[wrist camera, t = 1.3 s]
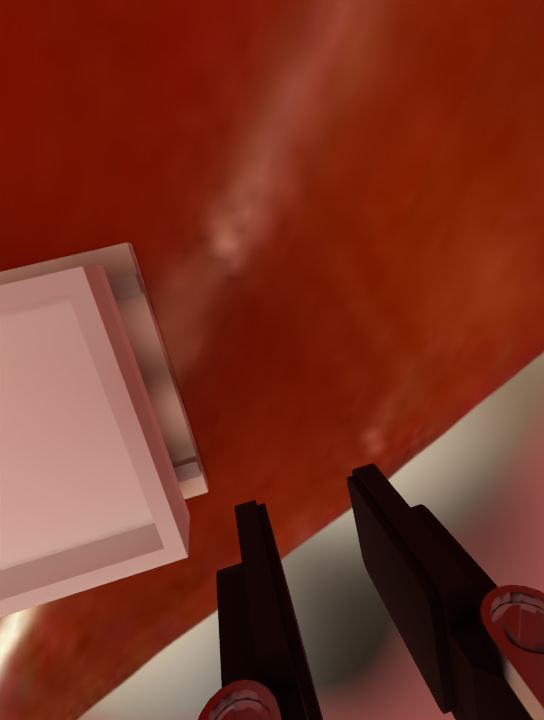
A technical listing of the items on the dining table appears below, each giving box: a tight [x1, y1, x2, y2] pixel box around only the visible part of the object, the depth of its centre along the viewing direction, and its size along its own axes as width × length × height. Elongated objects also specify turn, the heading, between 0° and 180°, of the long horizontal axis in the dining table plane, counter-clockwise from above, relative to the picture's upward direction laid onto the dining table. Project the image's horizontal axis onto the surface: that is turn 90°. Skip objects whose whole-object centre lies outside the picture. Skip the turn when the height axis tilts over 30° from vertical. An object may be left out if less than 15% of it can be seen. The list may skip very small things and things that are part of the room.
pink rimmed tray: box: [0, 264, 190, 617], centre depth 21 cm, size 16×16×6 cm
